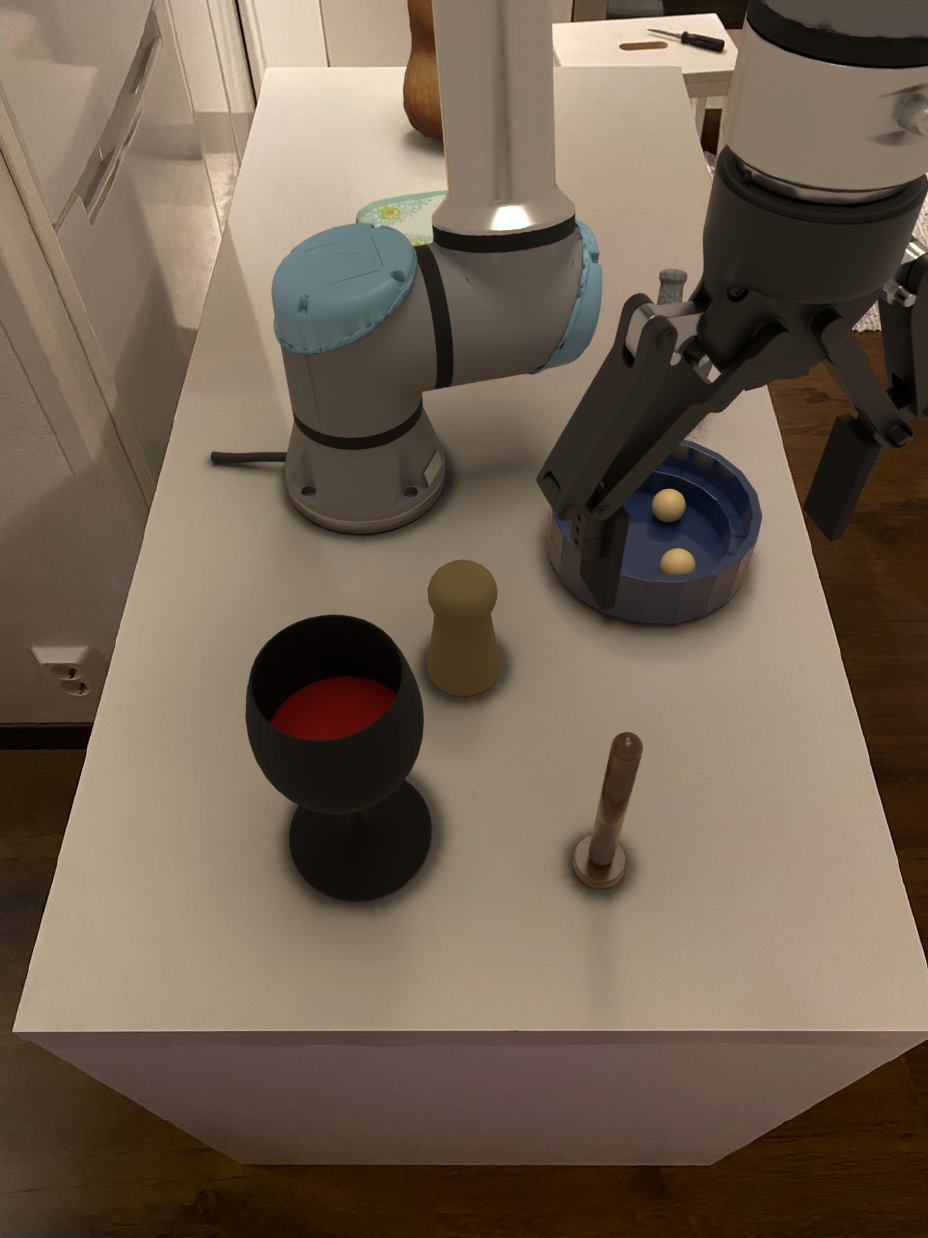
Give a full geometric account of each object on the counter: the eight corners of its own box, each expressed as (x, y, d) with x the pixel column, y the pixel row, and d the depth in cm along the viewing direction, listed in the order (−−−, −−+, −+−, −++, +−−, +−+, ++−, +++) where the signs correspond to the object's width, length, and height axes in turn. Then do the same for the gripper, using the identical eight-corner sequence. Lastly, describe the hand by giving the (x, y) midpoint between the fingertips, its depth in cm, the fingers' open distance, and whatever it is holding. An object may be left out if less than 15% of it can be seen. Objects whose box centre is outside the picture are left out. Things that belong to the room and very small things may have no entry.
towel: (573, 281, 112) (577, 240, 108) (403, 322, 107) (400, 281, 103) (512, 207, 122) (513, 168, 118) (355, 242, 118) (350, 202, 114)
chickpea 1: (651, 528, 86) (656, 505, 84) (648, 505, 88) (652, 481, 85) (684, 529, 86) (690, 505, 84) (680, 505, 88) (686, 482, 85)
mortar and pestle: (701, 434, 95) (726, 331, 85) (607, 426, 96) (621, 323, 86) (700, 365, 102) (723, 262, 92) (613, 358, 103) (626, 256, 93)
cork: (458, 624, 80) (456, 534, 71) (515, 661, 78) (520, 572, 69) (411, 669, 77) (403, 582, 69) (469, 709, 75) (468, 623, 66)
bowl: (550, 626, 80) (555, 580, 75) (545, 481, 91) (549, 433, 86) (760, 629, 79) (778, 583, 75) (730, 483, 90) (744, 435, 86)
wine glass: (432, 767, 72) (419, 599, 56) (433, 900, 65) (420, 753, 50) (294, 771, 72) (243, 605, 56) (282, 905, 65) (221, 760, 49)
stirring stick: (574, 888, 66) (598, 767, 52) (572, 840, 68) (595, 712, 55) (626, 889, 66) (664, 768, 52) (622, 841, 68) (657, 713, 54)
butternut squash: (449, 170, 129) (444, -45, 109) (386, 136, 135) (371, -73, 115) (522, 137, 134) (530, -74, 115) (458, 106, 140) (456, -99, 121)
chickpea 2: (659, 590, 81) (664, 567, 79) (655, 564, 83) (660, 540, 81) (694, 590, 81) (700, 567, 79) (689, 564, 83) (696, 541, 81)
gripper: (547, 279, 29) (523, 676, 46) (1179, 140, 34) (952, 542, 51) (464, 170, 34) (469, 568, 50) (1034, 61, 39) (868, 455, 55)
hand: (712, 556), depth 51 cm, fingers open, 13 cm apart
